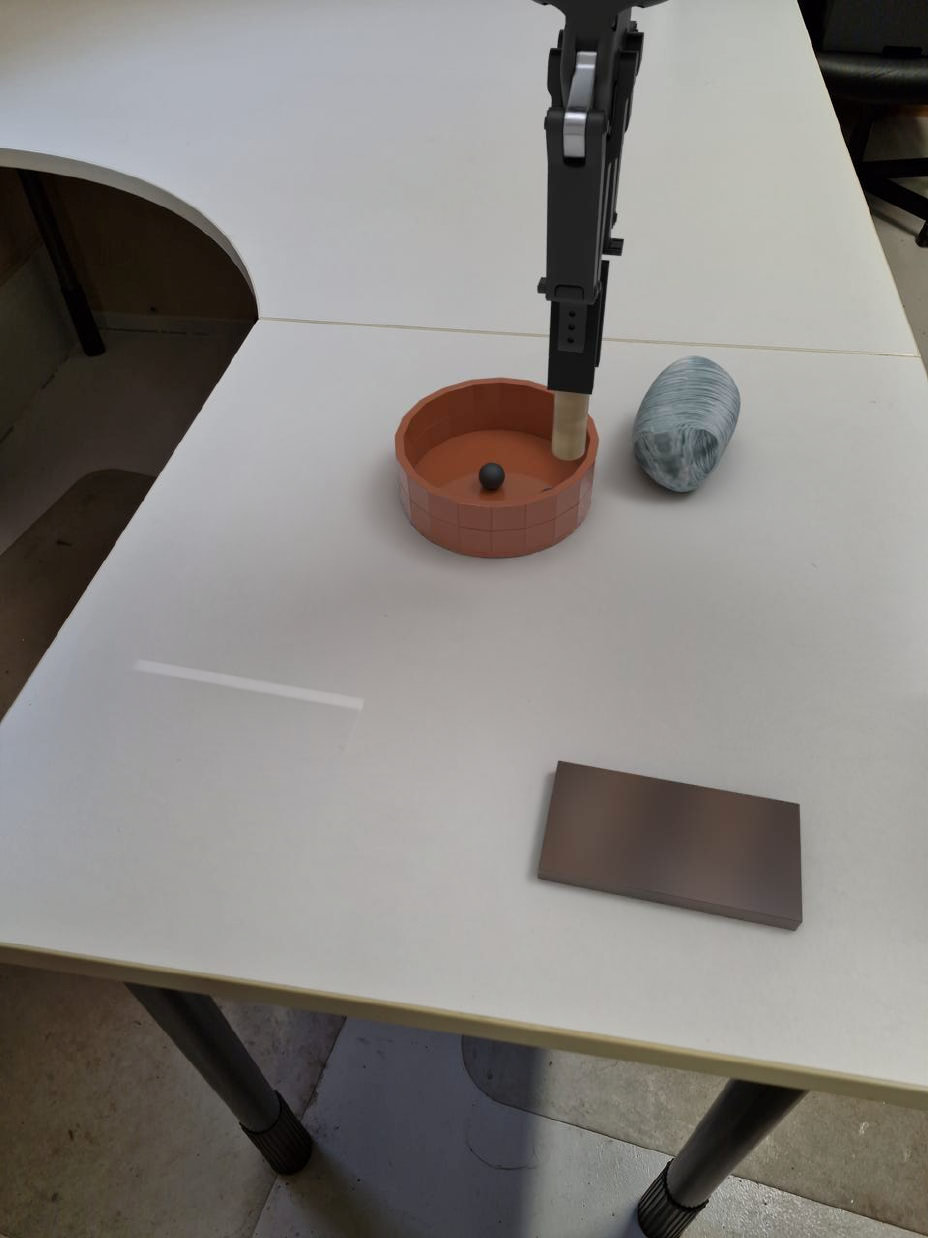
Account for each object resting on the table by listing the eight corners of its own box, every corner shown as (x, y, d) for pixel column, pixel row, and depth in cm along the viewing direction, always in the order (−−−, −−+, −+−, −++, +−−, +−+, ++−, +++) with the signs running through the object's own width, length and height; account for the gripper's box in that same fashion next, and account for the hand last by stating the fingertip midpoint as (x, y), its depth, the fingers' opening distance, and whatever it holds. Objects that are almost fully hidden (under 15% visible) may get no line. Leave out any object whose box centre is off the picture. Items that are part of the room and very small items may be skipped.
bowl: (603, 440, 83) (609, 388, 78) (578, 571, 72) (583, 519, 67) (427, 420, 86) (423, 368, 81) (377, 543, 75) (369, 491, 70)
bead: (500, 454, 77) (514, 477, 78) (482, 467, 79) (496, 489, 79) (486, 461, 76) (501, 484, 76) (468, 474, 77) (483, 497, 77)
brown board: (794, 814, 57) (800, 803, 56) (796, 931, 52) (802, 922, 51) (556, 771, 60) (557, 760, 59) (537, 878, 55) (538, 868, 54)
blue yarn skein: (732, 494, 73) (705, 381, 69) (628, 510, 78) (598, 405, 74) (766, 437, 82) (744, 334, 78) (671, 454, 88) (646, 359, 84)
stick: (586, 441, 57) (607, 218, 46) (582, 462, 56) (601, 237, 45) (554, 437, 58) (566, 215, 46) (548, 458, 57) (559, 234, 45)
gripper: (550, -163, 40) (536, 304, 58) (476, -83, 30) (487, 445, 48) (714, -164, 39) (648, 314, 57) (690, -81, 29) (620, 461, 47)
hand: (574, 374), depth 52 cm, fingers closed on stick, 2 cm apart
